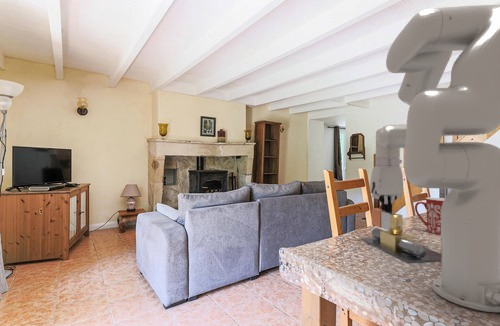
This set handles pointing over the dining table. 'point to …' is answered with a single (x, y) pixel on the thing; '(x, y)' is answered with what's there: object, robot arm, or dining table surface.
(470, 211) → the robot arm
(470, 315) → the dining table surface
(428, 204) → the mug
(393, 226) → the lever
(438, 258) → the valve
